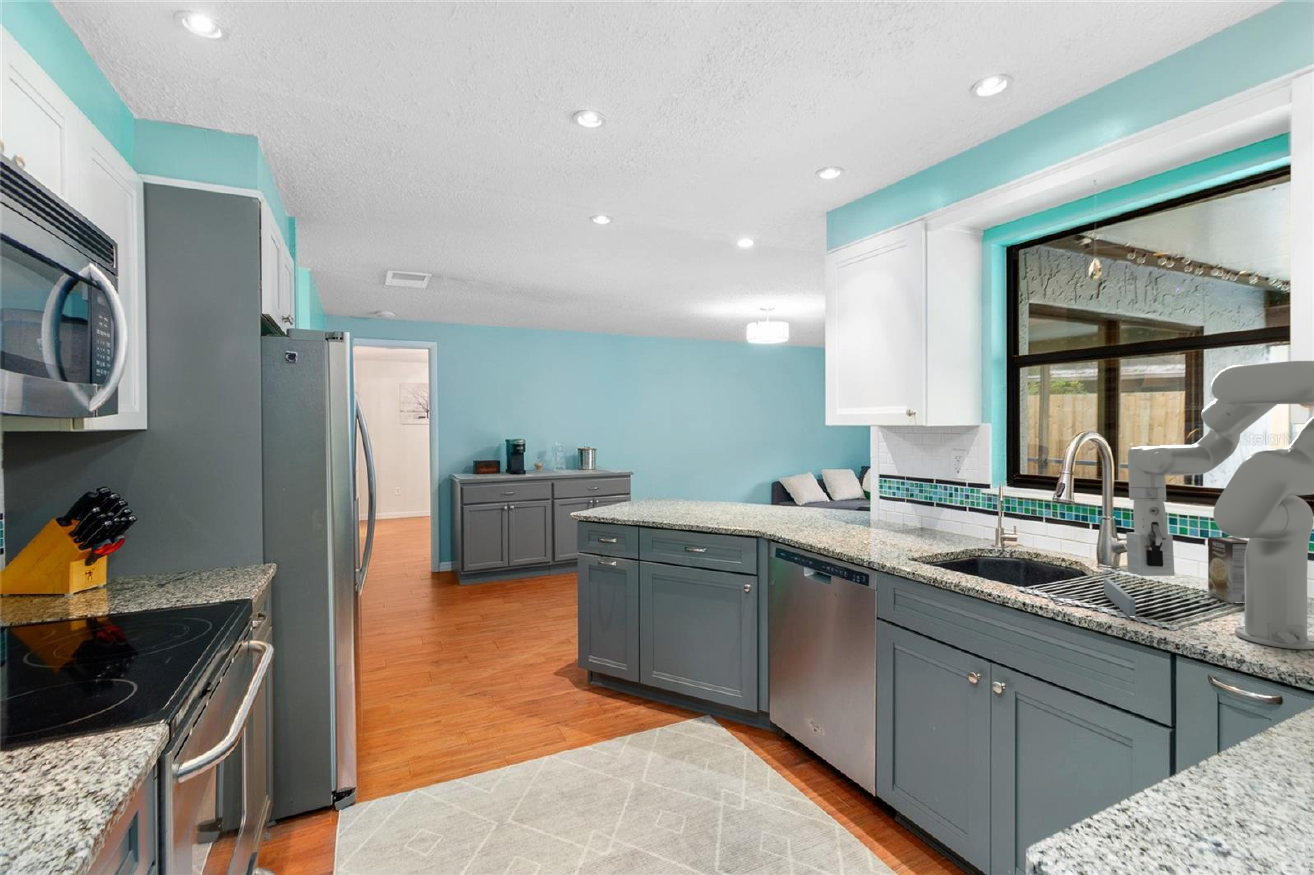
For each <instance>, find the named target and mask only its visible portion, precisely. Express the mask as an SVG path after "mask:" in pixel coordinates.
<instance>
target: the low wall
mask: <svg viewBox="0 0 1314 875" xmlns="http://www.w3.org/2000/svg"><path fill="white" fill-rule="evenodd" d="M1104 594H1105V595H1106V596H1105V595H1104ZM1103 595H1104V596H1105V597H1106V598H1107V599H1108V598H1109V599H1110V600H1109V599H1108V600H1109V601H1110V602H1112V603H1113V604H1114V605H1115V606H1116V607H1117V608H1118V607H1119V608H1120V609H1121V610H1122V611H1123V612H1125V613H1126V614H1127V615H1128V616H1135V617H1136V598H1134V597H1132V595H1130V594H1129V593H1127V591H1125V590H1124V589H1123V588H1122V587H1121V586H1120V585H1118V584H1117V583H1116V582H1114V581H1113V580H1111V578H1108V577H1103ZM1119 608H1118V609H1119ZM1120 609H1119V610H1120ZM1121 610H1120V611H1121ZM1122 611H1121V612H1122ZM1123 612H1122V613H1123ZM1125 613H1124V614H1125ZM1126 614H1125V615H1126ZM1127 615H1126V616H1127ZM1128 616H1127V617H1128Z"/></svg>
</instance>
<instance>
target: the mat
mask: <svg viewBox="0 0 1314 875" xmlns="http://www.w3.org/2000/svg"><path fill="white" fill-rule="evenodd" d="M1052 598H1089V597H1088V596H1079V595H1068V594H1066V595H1065V594H1057V597H1052ZM1052 598H1051V599H1052ZM1053 600H1054V601H1053ZM1053 600H1052V601H1053V603H1055V602H1062V601H1058V600H1055V599H1053ZM1089 602H1093V600H1091V598H1089ZM1056 604H1059V603H1056ZM1056 604H1055V605H1056ZM1062 605H1067V604H1062ZM1073 606H1074V605H1073ZM1073 606H1072V607H1073Z"/></svg>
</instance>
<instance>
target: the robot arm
mask: <svg viewBox="0 0 1314 875" xmlns="http://www.w3.org/2000/svg"><path fill="white" fill-rule="evenodd" d="M1210 387H1211V388H1210V390H1211V394H1212V396H1213V397H1214V398H1215V399H1213V401H1211V402H1210V403H1209V404H1208V405H1207V406H1206V407H1204V408H1203V409H1202V411H1201V415H1200V417H1201V420H1202V421H1203V422H1204V424H1205V425H1206V426H1207V427H1208V428H1209V431H1208V432H1207V433H1206V434H1205V435H1203V436H1202V437H1201V438H1200V439H1199V440H1198V441H1196V442H1195V443H1193V444H1174V445H1173V444H1171V445H1167V444H1166V445H1159V446H1136V447H1135V446H1134V447H1130V448H1129V449H1128V451H1127V467H1128V468H1127V470H1128V497H1129V498H1128V499H1129V500H1130V501H1133V509H1132V510H1133V514H1132V515H1133V519H1132V520H1133V530H1134V531H1133V532H1137V533H1140V534H1142V535H1144V538H1145V539H1147V546H1148V550H1146V554H1147V565H1148V566H1157V567H1162V566H1163V551H1162V550H1163V547H1162V538H1163V540H1166V539H1167V538H1168V534H1169V533H1168V532H1169V531H1168V523H1167V522H1168V520H1167V511H1166V507H1165V501H1167V487H1166V484H1167V483H1166V476H1167V477H1168V476H1169V477H1170V476H1171V477H1172V476H1173V477H1174V476H1175V477H1176V476H1177V477H1178V476H1179V477H1180V476H1200V475H1203V474H1206V473H1209V472H1212V471H1213V470H1214V469H1215V468H1217V467H1218V466H1220V465H1221V464H1222V463H1223V462H1224V461H1226V460H1227V459H1229V458H1230V457H1231V456H1232V455H1233V454H1234V453H1235V451H1236V449H1237V447H1238V445H1239V443H1240V439H1241V434H1242V433H1243V432H1244V431H1246V430H1247V429H1248V428H1249V427H1251V426H1252V425H1253V424H1254V423H1255V422H1257V421H1259V419H1261V418H1262V417H1263V416H1264V415H1266V414H1267V413H1268V412H1270V411H1271V410H1272V409H1273V408H1274V407H1276V406H1277V405H1314V360H1290V361H1289V360H1288V361H1277V362H1266V363H1255V364H1253V363H1252V364H1238V365H1237V364H1236V365H1232V366H1229V367H1226V368H1224V369H1222V370H1221V371H1219V372H1218V373H1217V374H1216V375H1215V376H1214V378H1213V380H1212V382H1211V385H1210ZM1306 495H1307V496H1309V495H1314V416H1313V417H1311V418H1310V419H1309V420H1307V422H1305V423H1304V425H1303V426H1302V428H1300V431H1299V432H1298V433H1297V435H1296V437H1295V438H1294V439H1293V440H1292V442H1291V443H1290V444H1289V445H1287V447H1284V448H1272V449H1271V448H1270V449H1264V450H1259V451H1256V452H1254V453H1253V454H1251V455H1249V456H1248V457H1247V458H1246V459H1244V460H1243V461H1242V462H1241V463H1240V464H1239V466H1238V468H1237V469H1236V471H1235V472H1234V474H1233V475H1232V477H1231V478H1230V480H1229V481H1228V483H1227V484H1226V486H1225V488H1224V489H1223V491H1222V493H1221V494H1220V496H1219V497H1218V499H1217V501H1216V502H1215V504H1214V505H1215V506H1214V509H1213V513H1212V514H1213V515H1212V516H1213V520H1214V523H1215V525H1216V527H1217V528H1218V529H1219V530H1220V531H1221V532H1222V533H1224V534H1225V535H1227V536H1228V537H1235V538H1239V539H1248V540H1247V541H1248V543H1247V546H1246V550H1245V568H1244V579H1245V604H1244V625H1241V626H1237V627H1235V628H1234V633H1235V635H1236V636H1237V637H1239V638H1241V639H1243V640H1246V641H1248V642H1252V643H1257V644H1259V645H1265V646H1269V647H1275V648H1283V649H1288V650H1289V649H1290V650H1314V637H1312V636H1309V635H1308V562H1309V560H1308V559H1309V558H1308V556H1309V555H1308V554H1309V544H1310V539H1311V535H1312V531H1313V528H1314V512H1313V510H1312V508H1311V506H1310V505H1309V504H1308V503H1307V501H1306V500H1304V499H1303V498H1302V497H1299V496H1306ZM1149 536H1153V537H1154V538H1149ZM1151 541H1152V544H1151Z"/></svg>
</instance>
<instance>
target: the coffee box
mask: <svg viewBox="0 0 1314 875" xmlns="http://www.w3.org/2000/svg"><path fill="white" fill-rule="evenodd" d="M1207 537H1208V538H1207V542H1208V545H1207V546H1208V547H1207V548H1208V549H1207V550H1208V552H1207V554H1208V555H1207V556H1208V557H1207V558H1208V559H1207V565H1208V566H1207V567H1208V568H1207V572H1208V573H1207V578H1208V580H1207V582H1208V584H1207V586H1208V587H1207V588H1208V589H1207V590H1208V591H1207V594H1209V596H1210V597H1214V598H1216V599H1218V598H1219V600H1222V601H1223V602H1227V603H1229V602H1230V603H1229V604H1233V602H1234V603H1235V602H1242V603H1243V602H1245V579H1244V568H1245V550H1246V546H1247V543H1248V541H1249V540H1247V539H1244V538H1236V537H1232V536H1207Z"/></svg>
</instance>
